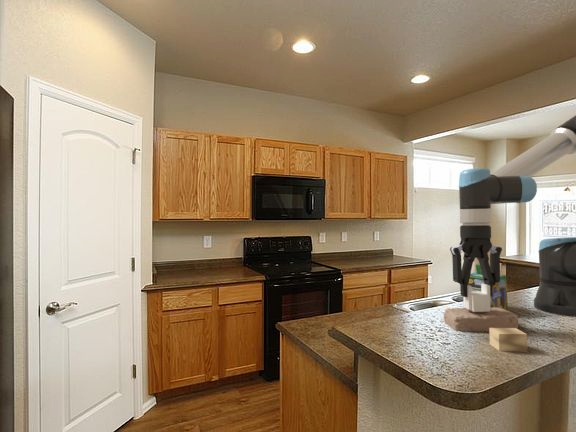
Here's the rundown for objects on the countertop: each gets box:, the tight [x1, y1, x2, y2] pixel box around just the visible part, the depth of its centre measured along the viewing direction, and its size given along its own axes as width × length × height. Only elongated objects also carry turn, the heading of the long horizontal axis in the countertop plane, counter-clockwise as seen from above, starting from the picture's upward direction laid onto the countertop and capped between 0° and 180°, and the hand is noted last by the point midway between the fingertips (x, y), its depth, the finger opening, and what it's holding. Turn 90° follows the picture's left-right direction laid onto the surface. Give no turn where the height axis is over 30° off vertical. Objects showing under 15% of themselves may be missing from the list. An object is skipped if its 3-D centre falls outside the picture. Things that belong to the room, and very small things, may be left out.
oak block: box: [488, 328, 528, 352], centre depth 75 cm, size 6×4×4 cm, turn 85°
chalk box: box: [466, 263, 509, 311], centre depth 105 cm, size 9×9×15 cm
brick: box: [443, 307, 519, 332], centre depth 89 cm, size 17×8×5 cm, turn 87°
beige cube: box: [471, 291, 490, 312], centre depth 90 cm, size 4×4×4 cm
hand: (476, 307), depth 90 cm, fingers closed on beige cube, 4 cm apart
